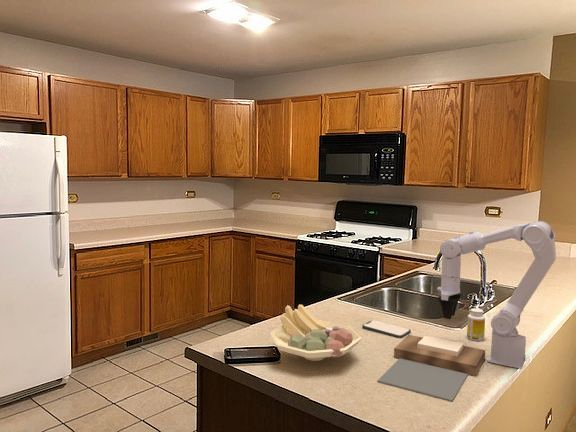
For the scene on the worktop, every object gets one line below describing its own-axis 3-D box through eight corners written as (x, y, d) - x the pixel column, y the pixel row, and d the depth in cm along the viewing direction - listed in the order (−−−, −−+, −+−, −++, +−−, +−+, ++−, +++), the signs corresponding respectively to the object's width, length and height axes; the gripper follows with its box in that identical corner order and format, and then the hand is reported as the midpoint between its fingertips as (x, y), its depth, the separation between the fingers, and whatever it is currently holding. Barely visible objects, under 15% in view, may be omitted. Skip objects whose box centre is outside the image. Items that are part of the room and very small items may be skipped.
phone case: (412, 333, 167) (372, 323, 177) (412, 329, 167) (373, 319, 177) (400, 340, 160) (360, 329, 171) (400, 336, 160) (360, 325, 170)
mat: (467, 375, 132) (467, 373, 132) (452, 401, 117) (452, 400, 117) (399, 359, 143) (399, 358, 143) (377, 381, 128) (377, 380, 128)
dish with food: (290, 332, 164) (290, 293, 161) (369, 345, 153) (370, 304, 151) (254, 368, 138) (253, 323, 136) (346, 387, 127) (346, 338, 125)
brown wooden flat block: (484, 359, 143) (485, 350, 143) (475, 376, 132) (476, 366, 131) (408, 343, 156) (408, 334, 156) (393, 357, 145) (394, 348, 144)
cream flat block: (463, 347, 145) (463, 343, 145) (457, 356, 138) (457, 351, 138) (424, 340, 151) (425, 335, 151) (417, 348, 144) (417, 343, 144)
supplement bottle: (487, 339, 160) (489, 310, 159) (476, 342, 157) (478, 313, 156) (474, 334, 165) (475, 306, 164) (463, 337, 162) (464, 308, 161)
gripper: (443, 270, 159) (442, 309, 160) (432, 278, 146) (430, 320, 148) (465, 272, 155) (463, 312, 156) (455, 281, 143) (453, 324, 144)
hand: (449, 316), depth 152 cm, fingers open, 4 cm apart
